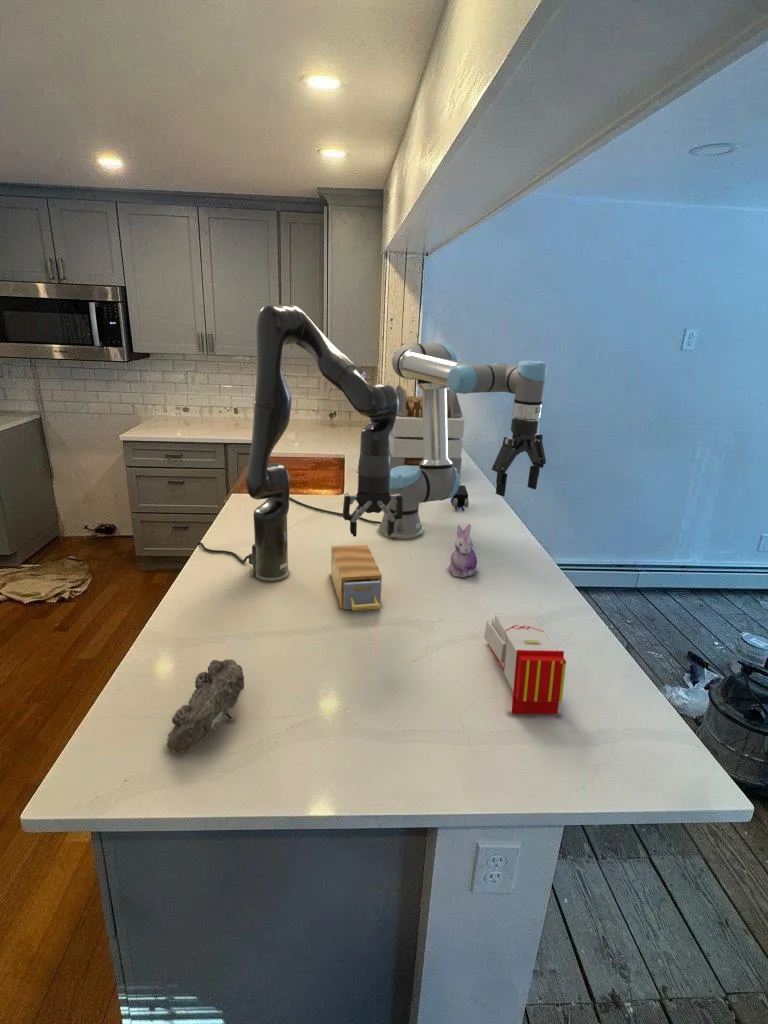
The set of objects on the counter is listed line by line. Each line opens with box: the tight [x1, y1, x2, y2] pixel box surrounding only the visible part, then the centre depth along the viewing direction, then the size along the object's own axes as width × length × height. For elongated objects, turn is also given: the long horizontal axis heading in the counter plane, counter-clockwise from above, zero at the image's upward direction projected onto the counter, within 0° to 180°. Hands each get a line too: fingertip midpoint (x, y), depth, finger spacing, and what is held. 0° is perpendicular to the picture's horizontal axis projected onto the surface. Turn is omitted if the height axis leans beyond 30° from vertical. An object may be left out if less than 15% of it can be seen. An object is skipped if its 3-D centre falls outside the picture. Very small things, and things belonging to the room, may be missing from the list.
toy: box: [484, 614, 567, 716], centre depth 124 cm, size 12×13×30 cm
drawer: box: [343, 579, 382, 611], centre depth 153 cm, size 25×9×7 cm, turn 12°
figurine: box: [449, 523, 478, 578], centre depth 170 cm, size 9×10×15 cm
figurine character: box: [449, 484, 470, 512], centre depth 229 cm, size 7×8×15 cm
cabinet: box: [330, 544, 383, 610], centre depth 158 cm, size 20×11×9 cm, turn 12°
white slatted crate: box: [390, 384, 465, 479], centre depth 268 cm, size 34×33×41 cm
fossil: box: [166, 658, 245, 754], centre depth 106 cm, size 22×10×15 cm
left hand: (371, 535), depth 139 cm, fingers open, 8 cm apart
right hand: (516, 491), depth 164 cm, fingers open, 13 cm apart
